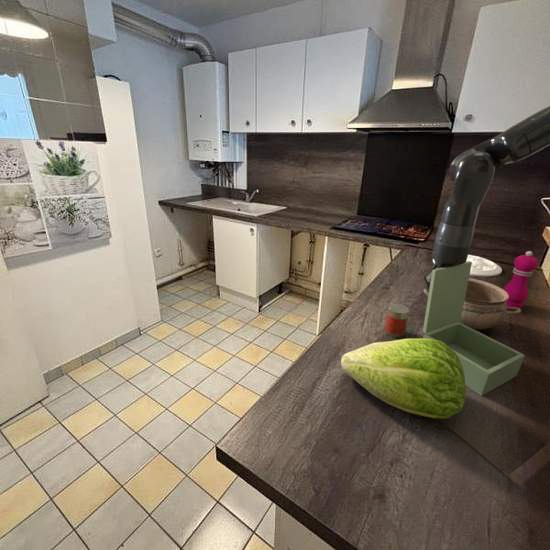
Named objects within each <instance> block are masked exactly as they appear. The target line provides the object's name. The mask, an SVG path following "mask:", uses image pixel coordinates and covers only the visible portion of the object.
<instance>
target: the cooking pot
mask: <svg viewBox="0 0 550 550" xmlns="http://www.w3.org/2000/svg"><path fill="white" fill-rule="evenodd" d="M423 293H424V294H425V295H426V296H427V297H428V296H429V289H428V288H424V289H423ZM508 298H509V295H508V293H507V292H506V291H504V290H503V288H501V287H499V286H497V285H495V284H493V283H490V282H487V281H484V280H480V279H475V278H472V277H469V280H468V285H467V290H466V295H465V300H464V305H463V310H462V315H461V320H460V321H459V322H460V323H462V324H464V325H466V326H468V327H470V328H472V329H474V330H476V331H478V330H488V329H491V328H495V327H496V326H498V325H500V324H501V323H502V322H504V319H505V318H506V316H514V315H518V314H521V312H522V308H521V309H520V308H516V307H508V306H506V300H507V299H508ZM456 323H457V322H456ZM453 324H454V323H453Z"/></svg>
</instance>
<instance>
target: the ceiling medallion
mask: <svg viewBox="0 0 550 550" xmlns="http://www.w3.org/2000/svg"><path fill="white" fill-rule="evenodd" d="M467 261H470V262H472V265H471V270H470V275H469V277H480V278H481V277H484V278H489V277H497V276H499V275H501V273H502V271H503V268H502V267H501V266H500V265H499V264H497V263H495V262H494V261H492V260H490V259H487V258H484V257H480V256H479V255H478V256H477V255H472V254H468V257H467ZM467 261H466V262H467ZM434 262H435V261H434V259H433V258H432V263H433V264H434Z"/></svg>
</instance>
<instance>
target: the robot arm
mask: <svg viewBox="0 0 550 550" xmlns="http://www.w3.org/2000/svg"><path fill="white" fill-rule="evenodd" d="M549 146H550V105H549V106H547V107H544V108H543V109H541V110H539V111H537V112H534V113H532V114H531V115H529V116H528V117H526V118H524V119H522V120H521V121H519V122H517V123H515V124H514V125H512V126H511V127H509V128H507V129H506V130H504V131H503V132H501V133H499V134H498V135H496V136H493V137H492V138H489V139H487V140H485V141H483V142H481V143H479V144H477V145H475V146H473V147H471V148H469V149H467V150H465V151H463V152H462V153H460V154H458V156H456V157H455V158H454V159H453V160H452V161H451V163H450V164H449V168H448V175H449V177H450V179H451V180H452V181H453V184H452V185H453V186H452V189H451V192H450V193H451V194H450V196H449V197H448V198H447V199H446V200H445V202H444V205H443V209H442V213H441V218H440V222H439V225H438V227H437V230H436V234H435V239H434V244H433V248H432V252H431V258H432V260H433V259H434V261H435V263H433V265H432V267H431V271H430V273H429V274H427V273H425V274H424V275H423V281H424V282H425V285H426V287H427V289H430V283H431V276H432V270H434V269H438V268H443V267H447V266H451V265H459V264H464V263H465V262H466V261H467V257H468V255H469V253H470V249H471V246H472V242H473V239H474V235H475V234H474V233H475V228H476V223H477V219H478V215H479V211H480V207H481V204H482V202H483V201H484V198H485V197H486V195H487V193H488V190H489V188H490V186H491V184H492V181H493V179H494V175H495V170H498V169H499V168H501V167H503V166H505V165H510V164H514V163H517V162H520V161H522V160H525V159H526V158H527V159H528V157H530V156H533V155H534V154H536V153H538V152H540V151H542V150H544V149H545V148H547V147H549Z"/></svg>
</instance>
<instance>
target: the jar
mask: <svg viewBox="0 0 550 550" xmlns="http://www.w3.org/2000/svg"><path fill="white" fill-rule="evenodd" d="M409 313H410V308H409V307H408V306H407V305H404V304H401V303H391V304H389V305H388V310H387V314H386V319H385V324H384V333H385V334H386V336H389V337H390V338H394V339H402V338H403V337H404V336H405V333H406V329H407V324H408V319H409Z"/></svg>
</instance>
